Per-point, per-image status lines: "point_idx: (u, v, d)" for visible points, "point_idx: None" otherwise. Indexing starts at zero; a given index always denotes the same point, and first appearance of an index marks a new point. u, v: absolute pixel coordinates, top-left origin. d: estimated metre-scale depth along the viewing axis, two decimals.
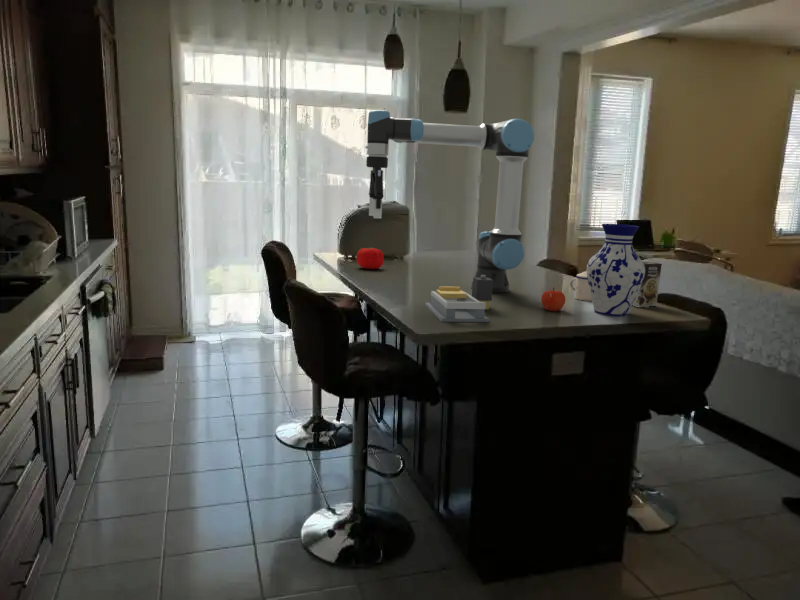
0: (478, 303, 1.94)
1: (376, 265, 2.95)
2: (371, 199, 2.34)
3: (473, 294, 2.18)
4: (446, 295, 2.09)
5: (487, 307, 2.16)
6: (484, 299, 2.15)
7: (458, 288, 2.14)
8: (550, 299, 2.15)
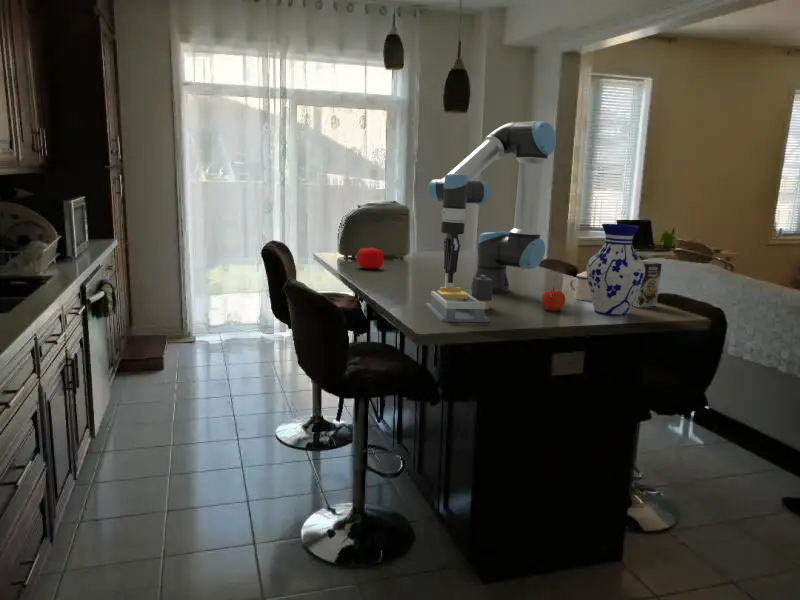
0: (478, 303, 1.94)
1: (376, 265, 2.95)
2: None
3: (473, 294, 2.18)
4: (447, 296, 2.07)
5: (487, 307, 2.16)
6: (484, 299, 2.15)
7: (459, 289, 2.13)
8: (550, 299, 2.15)
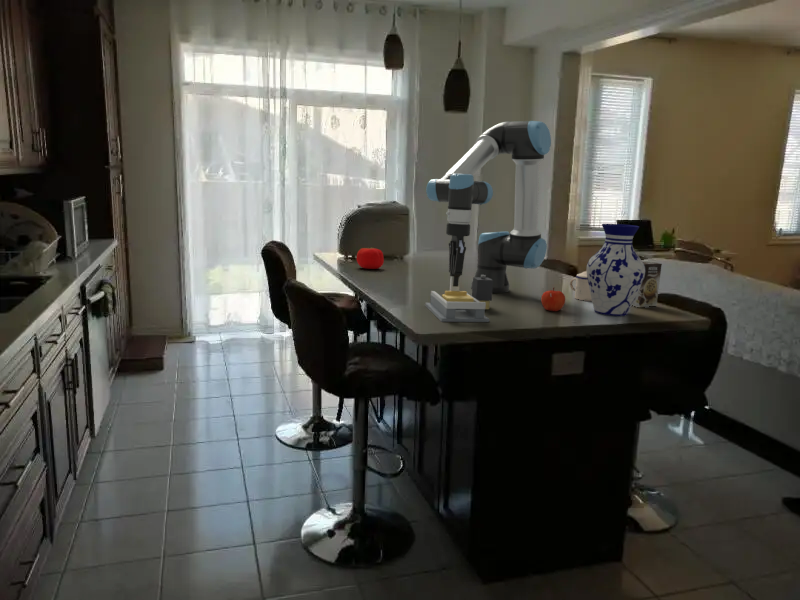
0: (478, 303, 1.94)
1: (376, 265, 2.95)
2: None
3: (473, 294, 2.18)
4: (453, 300, 2.00)
5: (487, 307, 2.16)
6: (484, 299, 2.15)
7: (465, 293, 2.06)
8: (550, 299, 2.15)
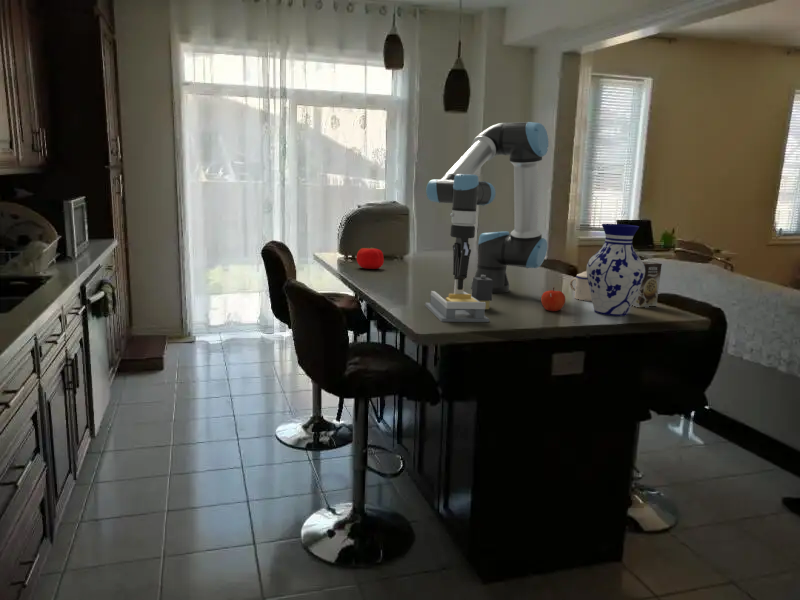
0: (478, 303, 1.94)
1: (376, 265, 2.95)
2: None
3: (473, 294, 2.18)
4: None
5: (487, 307, 2.16)
6: (484, 299, 2.15)
7: (469, 295, 2.01)
8: (550, 299, 2.15)
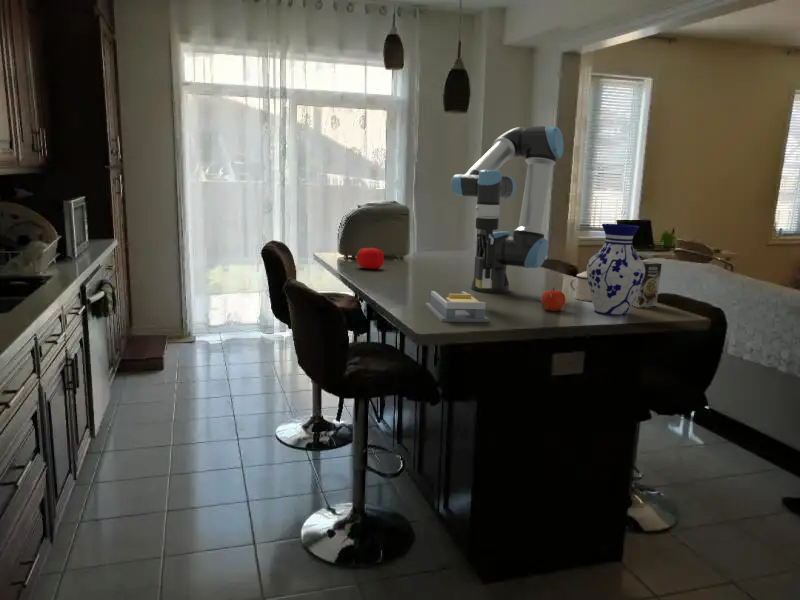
0: (478, 303, 1.94)
1: (376, 265, 2.95)
2: None
3: (475, 273, 2.17)
4: None
5: (490, 286, 2.15)
6: None
7: (469, 296, 2.01)
8: (550, 299, 2.15)
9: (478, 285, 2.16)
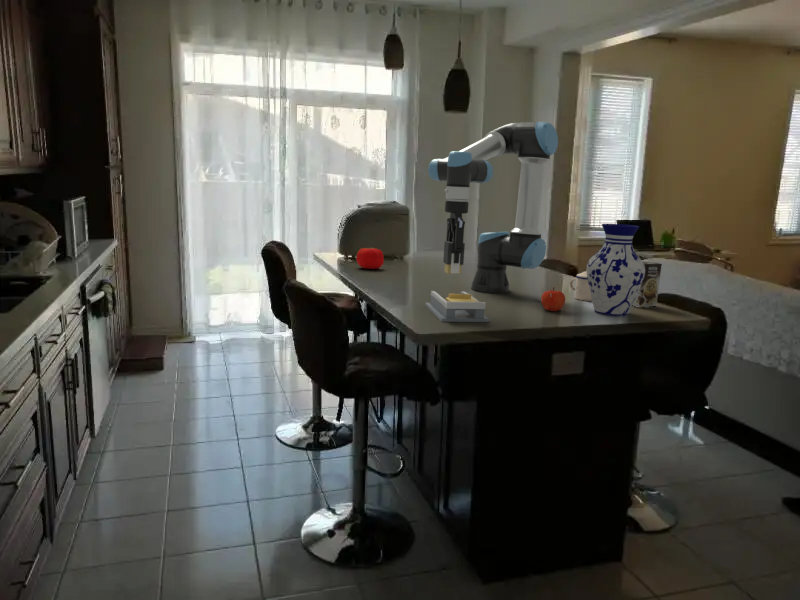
0: (478, 303, 1.94)
1: (376, 265, 2.95)
2: None
3: (444, 258, 2.10)
4: None
5: (459, 272, 2.09)
6: None
7: (469, 296, 2.01)
8: (550, 299, 2.15)
9: (447, 270, 2.09)
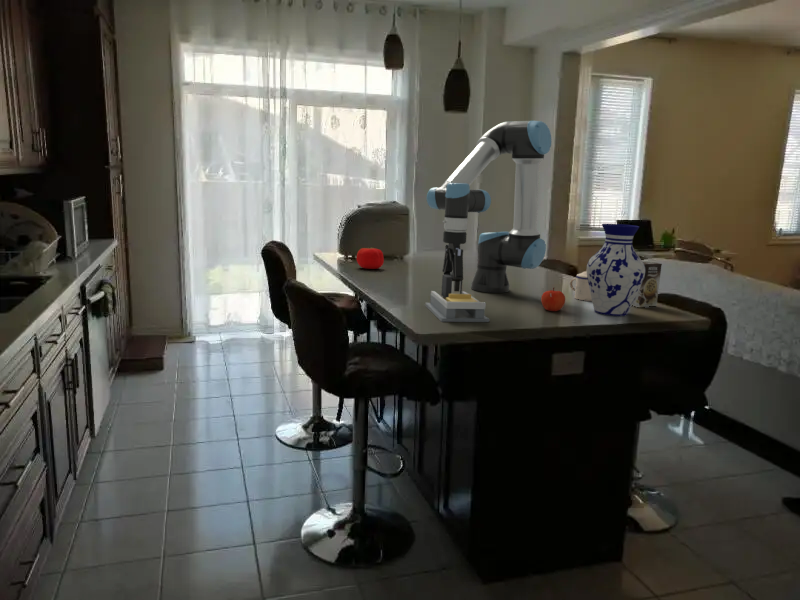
0: (478, 303, 1.94)
1: (376, 265, 2.95)
2: None
3: (442, 292, 2.12)
4: None
5: None
6: None
7: (469, 296, 2.01)
8: (550, 299, 2.15)
9: None
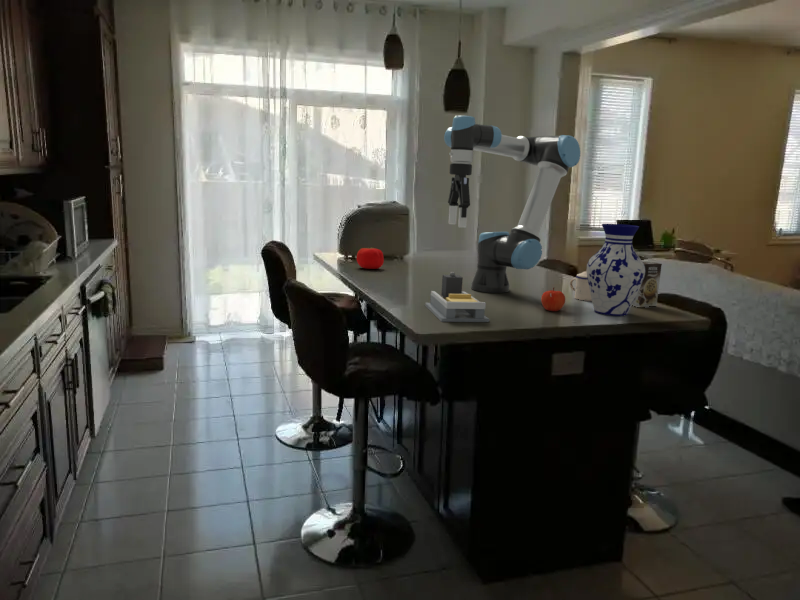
0: (478, 303, 1.94)
1: (376, 265, 2.95)
2: (451, 207, 2.26)
3: (442, 292, 2.12)
4: None
5: None
6: None
7: (469, 296, 2.01)
8: (550, 299, 2.15)
9: None
